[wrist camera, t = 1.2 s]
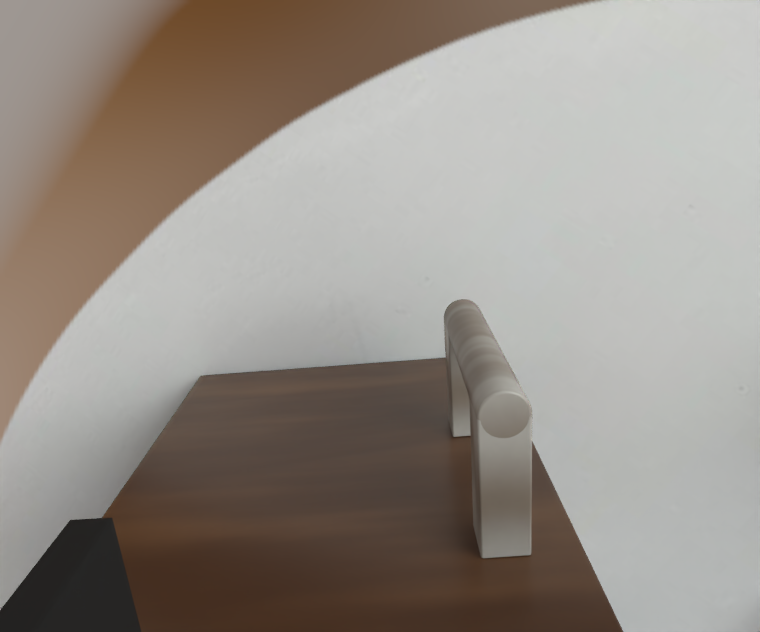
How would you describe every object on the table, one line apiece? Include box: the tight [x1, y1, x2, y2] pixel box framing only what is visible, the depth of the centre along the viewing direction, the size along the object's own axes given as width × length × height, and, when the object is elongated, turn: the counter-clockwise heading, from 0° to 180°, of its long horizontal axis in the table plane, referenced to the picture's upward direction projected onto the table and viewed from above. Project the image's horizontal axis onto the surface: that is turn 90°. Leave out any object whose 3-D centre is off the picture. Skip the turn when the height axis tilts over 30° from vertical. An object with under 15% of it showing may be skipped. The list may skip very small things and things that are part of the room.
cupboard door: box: [102, 299, 623, 632], centre depth 24 cm, size 7×17×20 cm, turn 94°
